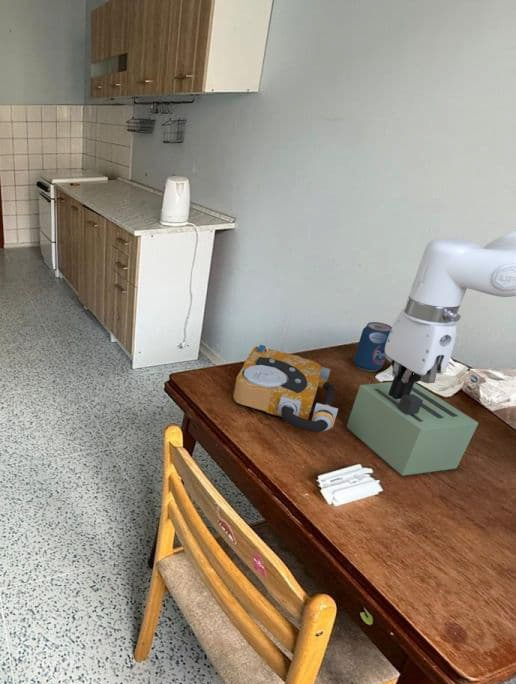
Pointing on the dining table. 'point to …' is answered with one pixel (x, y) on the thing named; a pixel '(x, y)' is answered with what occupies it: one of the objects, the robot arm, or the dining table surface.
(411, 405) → the slider
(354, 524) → the dining table surface
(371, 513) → the dining table surface
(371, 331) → the soda can
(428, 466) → the toaster
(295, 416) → the device
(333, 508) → the dining table surface
